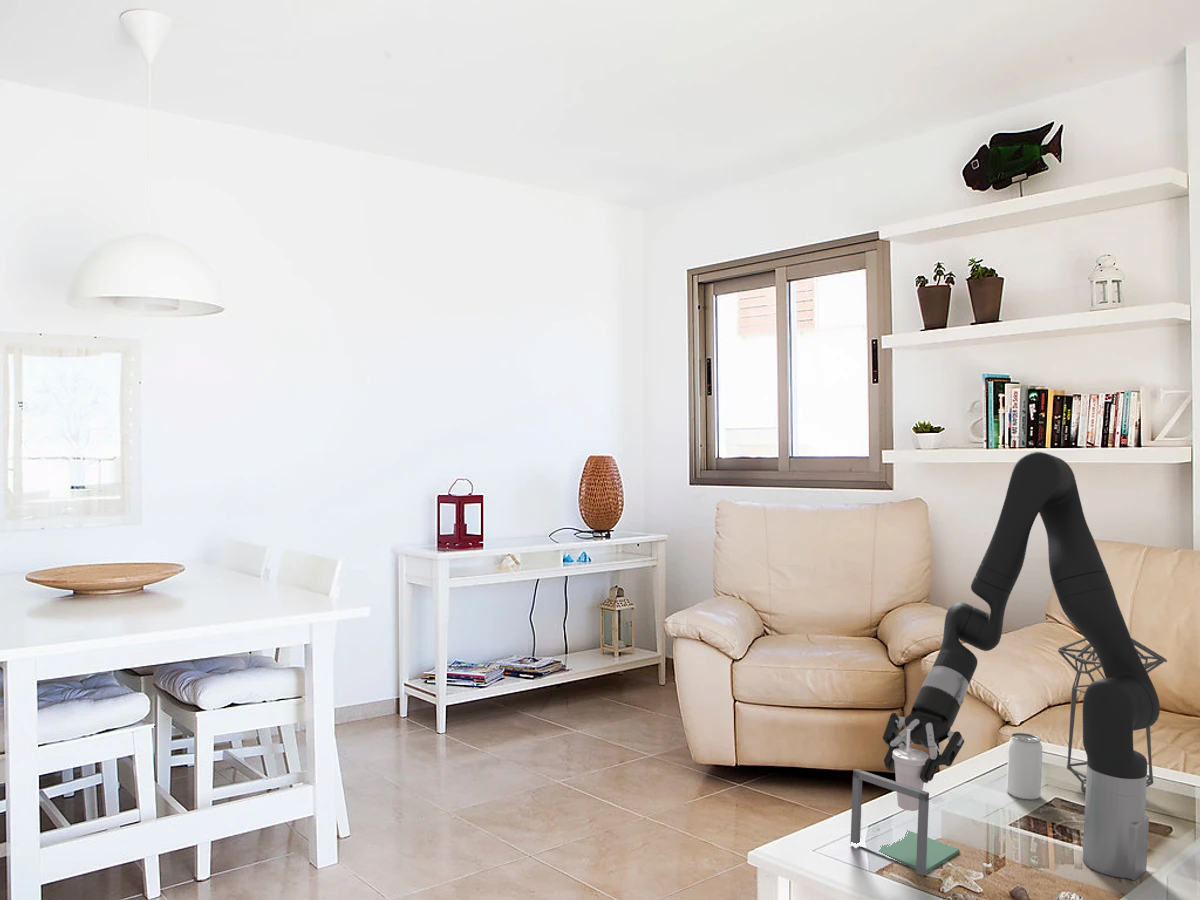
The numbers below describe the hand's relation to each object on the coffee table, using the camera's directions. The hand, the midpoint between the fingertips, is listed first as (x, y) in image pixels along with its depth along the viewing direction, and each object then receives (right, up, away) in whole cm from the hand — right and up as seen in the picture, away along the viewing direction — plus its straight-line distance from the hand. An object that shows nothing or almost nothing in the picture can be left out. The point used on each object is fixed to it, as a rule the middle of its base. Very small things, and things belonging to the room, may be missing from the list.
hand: (905, 774), depth 171 cm
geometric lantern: (+51, -14, +29) cm, 60 cm away
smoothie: (+1, -7, +1) cm, 7 cm away
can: (+33, -14, +28) cm, 45 cm away
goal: (0, -14, +1) cm, 14 cm away
